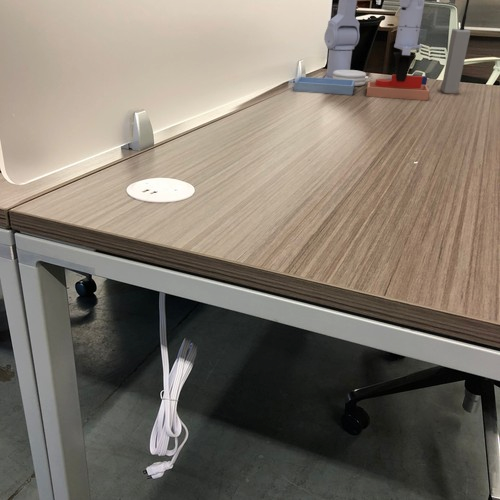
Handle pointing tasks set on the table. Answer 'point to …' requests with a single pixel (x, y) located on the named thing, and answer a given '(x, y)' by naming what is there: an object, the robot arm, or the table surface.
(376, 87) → the red bin
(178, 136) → the table surface
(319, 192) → the table surface
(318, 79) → the blue bin
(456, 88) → the vintage mobile phone
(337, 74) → the coaster
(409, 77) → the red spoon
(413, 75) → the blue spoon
